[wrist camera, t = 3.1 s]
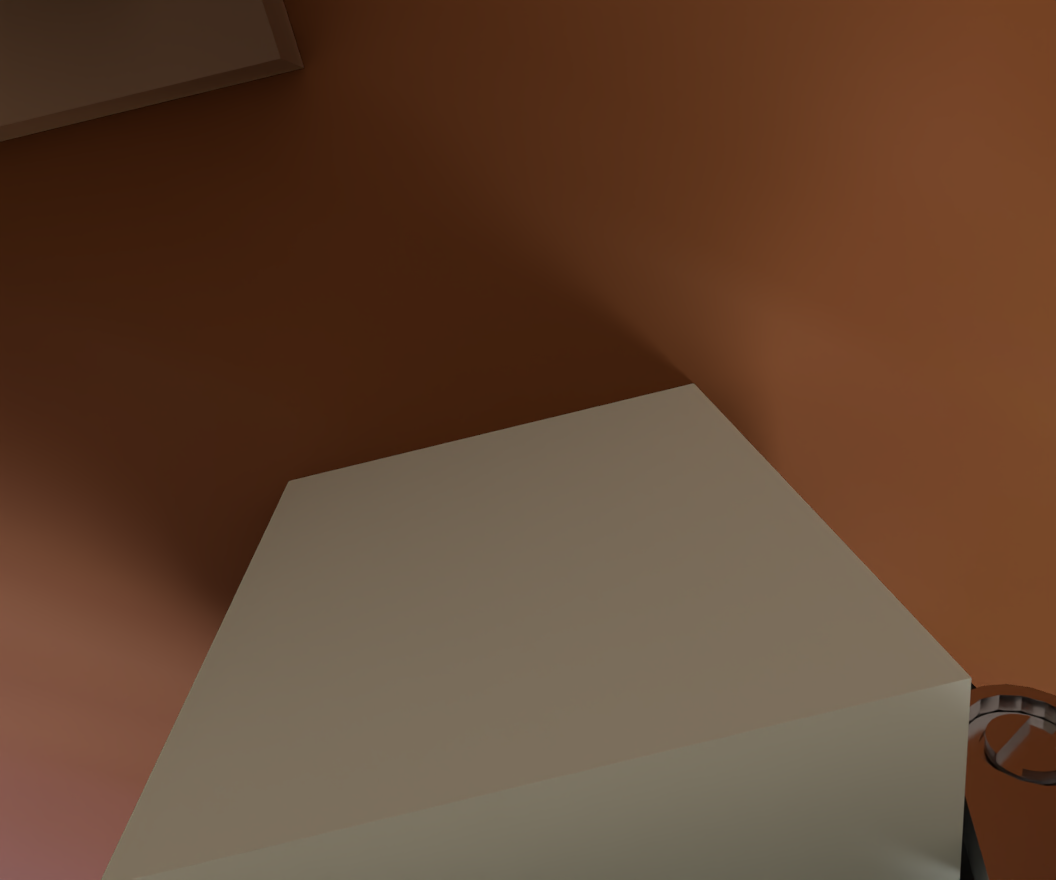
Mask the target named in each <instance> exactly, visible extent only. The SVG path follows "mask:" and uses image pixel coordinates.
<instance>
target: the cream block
mask: <svg viewBox="0 0 1056 880" xmlns="http://www.w3.org/2000/svg"><path fill="white" fill-rule="evenodd" d="M970 693H971V677H970V676H969V675H968V674H967V673H966V672H965V670H964V669H963V668H962V667H961V666H960V665H959V664H958V663H957V662H956V661H955V660H954V659H953V658H952V657H951V656H950V655H949V653H948V652H947V651H946V650H945V649H944V648H943V647H942V646H941V645H940V644H939V643H938V642H937V641H936V640H935V639H934V638H933V636H932V635H931V634H930V633H929V632H928V631H927V630H926V629H925V628H924V627H923V626H922V625H921V624H920V623H919V622H918V621H917V620H916V618H915V617H914V616H913V615H912V614H911V613H910V612H909V611H908V610H907V609H906V608H905V607H904V606H903V605H902V604H901V603H900V601H899V600H898V599H897V598H896V597H895V596H894V595H893V594H892V593H891V592H890V591H889V590H888V589H887V588H886V587H885V586H884V584H883V583H882V582H881V581H880V580H879V579H878V578H877V577H876V576H875V575H874V574H873V573H872V572H871V571H870V570H869V569H868V567H867V566H866V565H865V564H864V563H863V562H862V561H861V560H860V559H859V558H858V557H857V556H856V555H855V554H854V553H853V552H852V551H851V549H850V548H849V547H848V546H847V545H846V544H845V543H844V542H843V541H842V540H841V539H840V538H839V537H838V536H837V535H836V534H835V532H834V531H833V530H832V529H831V528H830V527H829V526H828V525H827V524H826V523H825V522H824V521H823V520H822V519H821V518H820V517H819V515H818V514H817V513H816V512H815V511H814V510H813V509H812V508H811V507H810V506H809V505H808V504H807V503H806V502H805V501H804V500H803V499H802V497H801V496H800V495H799V494H798V493H797V492H796V491H795V490H794V489H793V488H792V487H791V486H790V485H789V484H788V483H787V482H786V480H785V479H784V478H783V477H782V476H781V475H780V474H779V473H778V472H777V471H776V470H775V469H774V468H773V467H772V466H771V465H770V463H769V462H768V461H767V460H766V459H765V458H764V457H763V456H762V455H761V454H760V453H759V452H758V451H757V450H756V449H755V448H754V446H753V445H752V444H751V443H750V442H749V441H748V440H747V439H746V438H745V437H744V436H743V435H742V434H741V433H740V432H739V431H738V430H737V428H736V427H735V426H734V425H733V424H732V423H731V422H730V421H729V420H728V419H727V418H726V417H725V416H724V415H723V414H722V413H721V411H720V410H719V409H718V408H717V407H716V406H715V405H714V404H713V403H712V402H711V401H710V400H709V399H708V398H707V397H706V396H705V394H704V393H703V392H702V391H701V390H700V389H699V388H698V387H697V386H696V385H695V384H694V383H693V384H689V385H684V386H680V387H676V388H672V389H668V390H664V391H660V392H655V393H651V394H647V395H643V396H639V397H635V398H631V399H626V400H622V401H618V402H614V403H610V404H606V405H602V406H597V407H593V408H589V409H585V410H581V411H577V412H572V413H568V414H564V415H560V416H556V417H552V418H548V419H543V420H539V421H535V422H531V423H527V424H523V425H519V426H514V427H510V428H506V429H502V430H498V431H494V432H490V433H485V434H481V435H477V436H473V437H469V438H465V439H461V440H456V441H452V442H448V443H444V444H440V445H436V446H432V447H427V448H423V449H419V450H415V451H411V452H407V453H403V454H398V455H394V456H390V457H386V458H382V459H378V460H374V461H369V462H365V463H361V464H357V465H353V466H349V467H345V468H340V469H336V470H332V471H328V472H324V473H320V474H316V475H311V476H307V477H303V478H299V479H295V480H291V481H288V483H287V486H286V488H285V490H284V492H283V494H282V496H281V498H280V500H279V503H278V505H277V507H276V509H275V511H274V513H273V515H272V517H271V520H270V522H269V524H268V526H267V528H266V530H265V532H264V534H263V537H262V539H261V541H260V543H259V545H258V547H257V549H256V551H255V554H254V556H253V558H252V560H251V562H250V564H249V566H248V568H247V571H246V573H245V575H244V577H243V579H242V581H241V583H240V585H239V588H238V590H237V592H236V594H235V596H234V598H233V600H232V602H231V605H230V607H229V609H228V611H227V613H226V615H225V617H224V619H223V622H222V624H221V626H220V628H219V630H218V632H217V634H216V636H215V639H214V641H213V643H212V645H211V647H210V649H209V651H208V653H207V656H206V658H205V660H204V662H203V664H202V666H201V668H200V670H199V673H198V675H197V677H196V679H195V681H194V683H193V685H192V687H191V690H190V692H189V694H188V696H187V698H186V700H185V702H184V704H183V707H182V709H181V711H180V713H179V715H178V717H177V719H176V721H175V724H174V726H173V728H172V730H171V732H170V734H169V736H168V738H167V741H166V743H165V745H164V747H163V749H162V751H161V753H160V755H159V758H158V760H157V762H156V764H155V766H154V768H153V770H152V772H151V775H150V777H149V779H148V781H147V783H146V785H145V787H144V789H143V792H142V794H141V796H140V798H139V800H138V802H137V804H136V806H135V809H134V811H133V813H132V815H131V817H130V819H129V821H128V823H127V826H126V828H125V830H124V832H123V834H122V836H121V838H120V840H119V843H118V845H117V847H116V849H115V851H114V853H113V855H112V857H111V860H110V862H109V864H108V866H107V868H106V870H105V872H104V874H103V877H102V879H101V880H960V867H961V850H962V832H963V815H964V797H965V780H966V763H967V745H968V728H969V710H970Z"/></svg>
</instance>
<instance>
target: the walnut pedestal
mask: <svg viewBox="0 0 1056 880" xmlns="http://www.w3.org/2000/svg"><path fill="white" fill-rule="evenodd" d="M302 68H304V66H303V63H302V59H301V56H300V53H299V50H298V47H297V43H296V40H295V37H294V34H293V31H292V27H291V24H290V21H289V18H288V15H287V11H286V8H285V5H284V2H283V0H0V142H1V141H5V140H9V139H13V138H17V137H22V136H26V135H30V134H34V133H38V132H42V131H46V130H50V129H55V128H59V127H63V126H67V125H71V124H75V123H79V122H83V121H88V120H92V119H96V118H100V117H104V116H108V115H112V114H116V113H121V112H125V111H129V110H133V109H137V108H141V107H145V106H149V105H154V104H158V103H162V102H166V101H170V100H174V99H178V98H182V97H187V96H191V95H195V94H199V93H203V92H207V91H211V90H215V89H220V88H224V87H228V86H232V85H236V84H240V83H244V82H248V81H253V80H257V79H261V78H265V77H269V76H273V75H277V74H281V73H286V72H290V71H294V70H298V69H302Z"/></svg>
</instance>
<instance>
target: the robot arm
mask: <svg viewBox="0 0 1056 880" xmlns="http://www.w3.org/2000/svg"><path fill="white" fill-rule="evenodd" d="M960 880H1056V696H1055V695H1052V694H1049V693H1046V692H1043V691H1040V690H1037V689H1034V688H1030V687H1023V686H1015V685H1008V684H1003V685H987V686H981V687H978V688H976V687H975V686H974V685H973V684H972V683H971V693H970V710H969V728H968V745H967V763H966V780H965V797H964V815H963V832H962V850H961V867H960Z"/></svg>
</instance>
